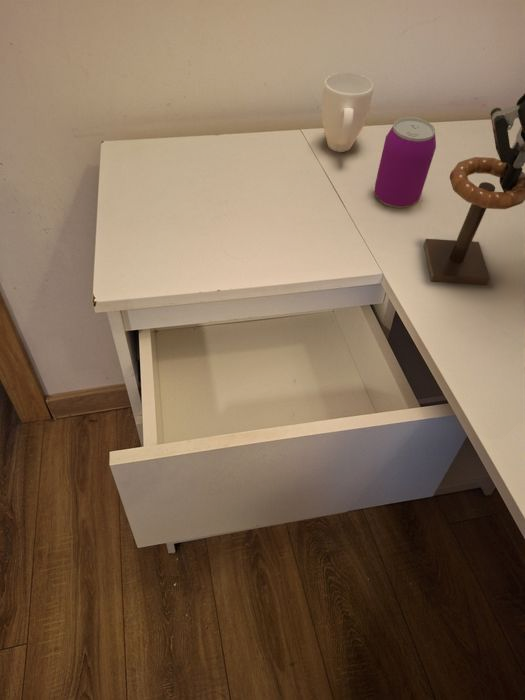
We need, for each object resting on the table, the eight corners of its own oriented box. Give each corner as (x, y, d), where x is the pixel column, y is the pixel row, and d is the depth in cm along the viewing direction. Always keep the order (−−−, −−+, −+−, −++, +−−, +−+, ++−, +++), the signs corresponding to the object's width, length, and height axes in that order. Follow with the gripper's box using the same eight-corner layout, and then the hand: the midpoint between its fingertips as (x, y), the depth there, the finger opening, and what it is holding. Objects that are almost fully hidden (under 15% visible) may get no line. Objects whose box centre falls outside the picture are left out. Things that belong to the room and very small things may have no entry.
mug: (317, 132, 98) (324, 70, 89) (360, 135, 98) (372, 72, 89) (316, 168, 91) (324, 103, 82) (363, 171, 90) (376, 107, 81)
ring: (515, 170, 69) (521, 156, 67) (534, 214, 63) (541, 200, 61) (443, 166, 69) (447, 152, 67) (455, 210, 63) (460, 196, 61)
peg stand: (476, 247, 78) (511, 170, 68) (487, 284, 73) (527, 207, 63) (423, 244, 78) (450, 167, 68) (431, 281, 74) (461, 203, 63)
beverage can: (378, 178, 89) (394, 110, 80) (422, 189, 87) (444, 121, 78) (368, 203, 84) (383, 134, 75) (414, 215, 83) (435, 146, 73)
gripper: (528, 56, 50) (467, 205, 64) (671, 63, 50) (580, 212, 63) (509, 25, 55) (456, 171, 68) (640, 32, 54) (561, 177, 68)
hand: (516, 190), depth 66 cm, fingers closed on ring, 2 cm apart
